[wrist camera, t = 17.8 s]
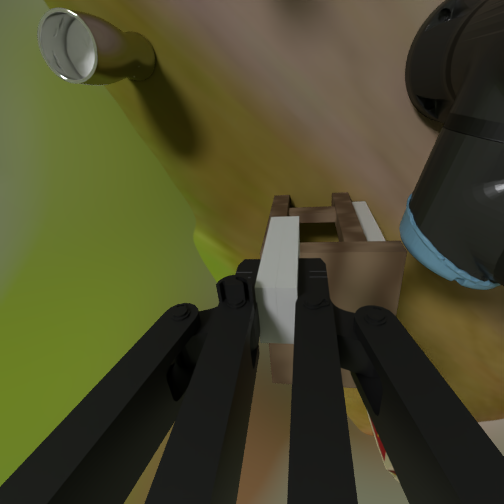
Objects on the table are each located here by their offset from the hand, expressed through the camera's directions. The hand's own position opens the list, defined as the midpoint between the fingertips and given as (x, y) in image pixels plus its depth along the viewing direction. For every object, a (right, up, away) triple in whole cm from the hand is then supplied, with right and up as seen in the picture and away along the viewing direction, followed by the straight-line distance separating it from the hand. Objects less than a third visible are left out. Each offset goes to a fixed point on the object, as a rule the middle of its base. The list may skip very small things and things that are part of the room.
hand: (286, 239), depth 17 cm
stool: (+11, -1, +38) cm, 40 cm away
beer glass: (-19, +28, +28) cm, 44 cm away
